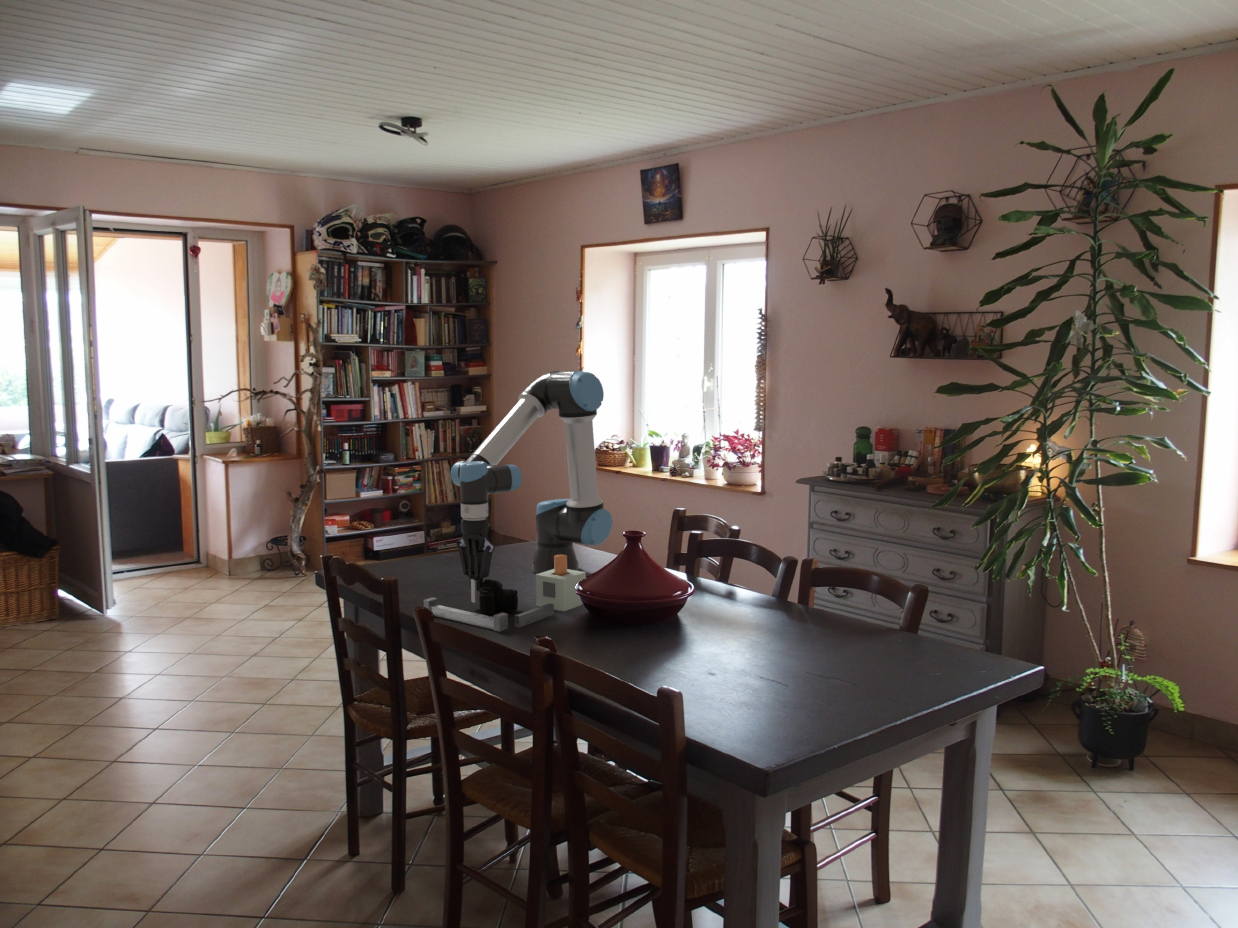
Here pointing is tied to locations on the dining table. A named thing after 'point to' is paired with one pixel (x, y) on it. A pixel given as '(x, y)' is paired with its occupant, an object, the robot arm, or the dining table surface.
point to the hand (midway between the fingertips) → (476, 601)
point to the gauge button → (560, 565)
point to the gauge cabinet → (558, 589)
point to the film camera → (496, 598)
